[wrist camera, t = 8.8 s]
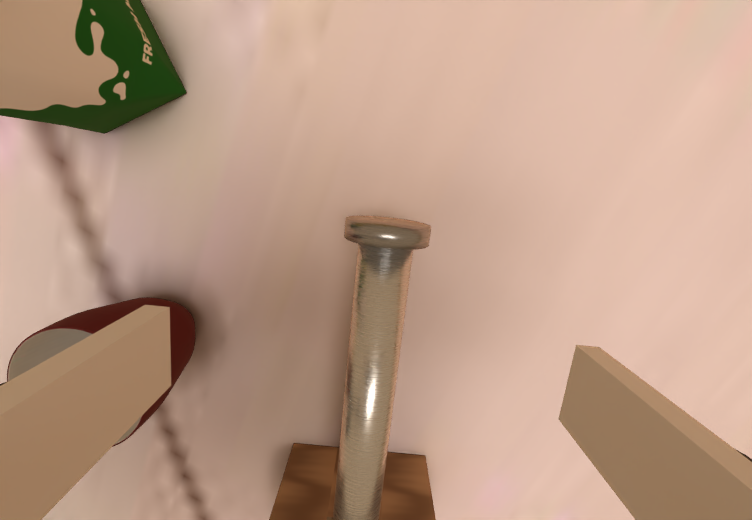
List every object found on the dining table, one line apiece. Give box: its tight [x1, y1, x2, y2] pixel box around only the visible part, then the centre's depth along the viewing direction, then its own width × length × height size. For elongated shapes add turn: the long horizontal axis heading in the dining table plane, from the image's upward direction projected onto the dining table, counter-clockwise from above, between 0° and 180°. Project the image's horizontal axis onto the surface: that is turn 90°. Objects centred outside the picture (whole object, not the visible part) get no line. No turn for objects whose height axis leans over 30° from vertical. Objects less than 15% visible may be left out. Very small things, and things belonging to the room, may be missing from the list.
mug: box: [7, 298, 195, 447], centre depth 26 cm, size 11×8×10 cm
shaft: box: [333, 216, 431, 520], centre depth 23 cm, size 26×5×5 cm, turn 174°
